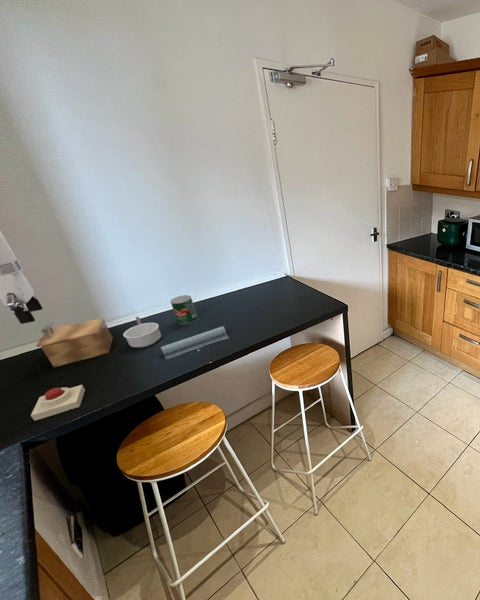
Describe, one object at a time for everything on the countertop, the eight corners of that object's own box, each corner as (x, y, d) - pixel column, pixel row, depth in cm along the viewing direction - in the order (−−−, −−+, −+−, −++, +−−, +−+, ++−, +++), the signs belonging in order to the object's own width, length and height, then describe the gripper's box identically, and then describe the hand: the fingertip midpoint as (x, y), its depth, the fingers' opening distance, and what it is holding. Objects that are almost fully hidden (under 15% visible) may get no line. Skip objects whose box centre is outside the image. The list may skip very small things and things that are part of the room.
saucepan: (157, 323, 142) (153, 312, 139) (165, 341, 129) (160, 330, 126) (125, 332, 135) (120, 321, 132) (130, 353, 122) (124, 341, 119)
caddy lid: (37, 347, 110) (30, 335, 107) (47, 331, 119) (41, 320, 117) (98, 334, 118) (93, 323, 116) (103, 319, 127) (99, 309, 125)
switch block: (34, 420, 92) (27, 411, 91) (43, 402, 99) (36, 392, 97) (79, 406, 97) (73, 397, 96) (85, 389, 104) (79, 380, 102)
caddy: (53, 367, 114) (41, 347, 110) (62, 350, 124) (51, 331, 120) (108, 353, 122) (99, 334, 118) (112, 337, 131) (103, 319, 127)
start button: (45, 401, 94) (42, 397, 94) (49, 394, 97) (46, 390, 96) (62, 397, 96) (59, 392, 95) (65, 390, 99) (62, 385, 98)
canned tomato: (177, 326, 139) (169, 304, 134) (178, 318, 145) (171, 297, 140) (198, 322, 143) (190, 300, 138) (198, 314, 149) (191, 293, 144)
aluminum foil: (224, 331, 136) (222, 324, 134) (229, 337, 131) (227, 331, 130) (162, 353, 122) (159, 345, 120) (165, 360, 118) (162, 353, 116)
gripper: (-6, 262, 101) (24, 309, 109) (-28, 280, 88) (7, 331, 96) (28, 258, 105) (53, 303, 113) (11, 274, 92) (41, 323, 100)
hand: (32, 316), depth 104 cm, fingers open, 9 cm apart
